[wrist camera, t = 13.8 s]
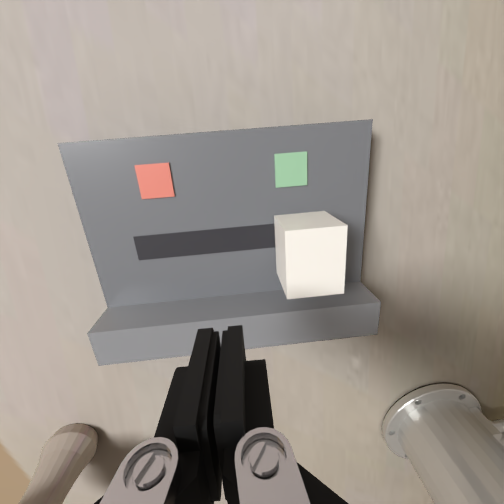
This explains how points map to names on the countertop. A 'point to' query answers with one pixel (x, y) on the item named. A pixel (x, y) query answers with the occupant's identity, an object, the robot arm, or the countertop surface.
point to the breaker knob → (310, 254)
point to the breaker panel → (217, 234)
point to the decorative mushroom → (61, 464)
